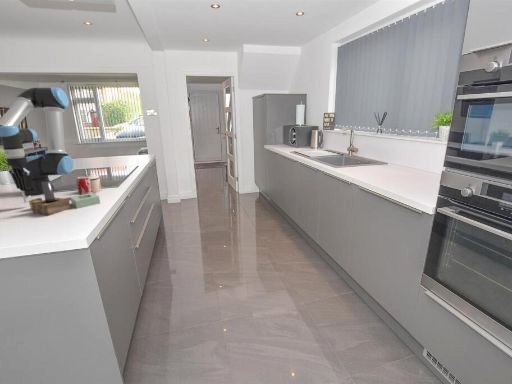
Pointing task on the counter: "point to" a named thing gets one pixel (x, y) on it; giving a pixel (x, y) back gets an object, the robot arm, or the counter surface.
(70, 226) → the counter surface
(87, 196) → the green square frame
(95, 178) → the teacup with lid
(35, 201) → the tan t-shaped block
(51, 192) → the dark grey peg
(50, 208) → the socket block
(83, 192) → the soda can
